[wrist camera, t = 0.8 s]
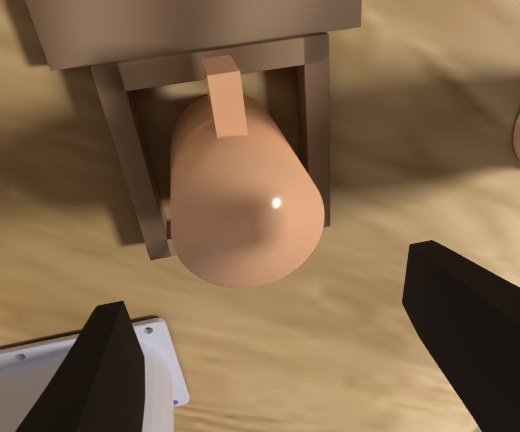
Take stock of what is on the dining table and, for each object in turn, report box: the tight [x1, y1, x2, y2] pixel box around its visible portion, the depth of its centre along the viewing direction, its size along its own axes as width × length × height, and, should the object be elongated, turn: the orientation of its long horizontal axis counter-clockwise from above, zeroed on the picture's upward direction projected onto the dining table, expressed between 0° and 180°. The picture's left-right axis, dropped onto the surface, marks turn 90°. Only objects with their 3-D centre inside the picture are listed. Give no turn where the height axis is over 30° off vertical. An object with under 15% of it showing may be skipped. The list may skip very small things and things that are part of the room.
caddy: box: [25, 0, 362, 260], centre depth 15 cm, size 12×21×2 cm, turn 6°
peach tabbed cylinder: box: [171, 55, 325, 288], centre depth 16 cm, size 5×7×7 cm
